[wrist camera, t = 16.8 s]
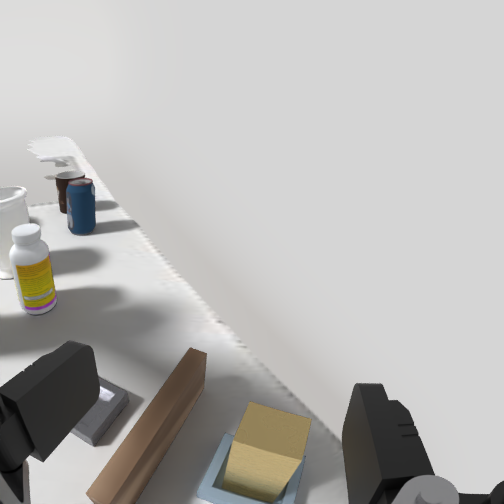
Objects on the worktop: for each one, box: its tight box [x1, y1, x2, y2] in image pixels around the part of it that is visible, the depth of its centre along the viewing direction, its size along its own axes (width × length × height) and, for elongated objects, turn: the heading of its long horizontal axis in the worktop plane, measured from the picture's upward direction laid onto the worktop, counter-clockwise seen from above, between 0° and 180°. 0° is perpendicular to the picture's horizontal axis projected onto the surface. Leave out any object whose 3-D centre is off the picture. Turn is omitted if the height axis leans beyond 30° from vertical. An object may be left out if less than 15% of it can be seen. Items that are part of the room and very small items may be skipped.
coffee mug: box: [55, 171, 85, 214], centre depth 78 cm, size 12×9×10 cm
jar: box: [0, 186, 30, 279], centre depth 46 cm, size 11×10×15 cm
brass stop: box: [221, 401, 312, 503], centre depth 23 cm, size 5×4×10 cm
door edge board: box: [86, 348, 207, 504], centre depth 26 cm, size 2×20×6 cm, turn 163°
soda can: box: [66, 178, 96, 235], centre depth 66 cm, size 7×7×12 cm
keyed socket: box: [197, 433, 306, 504], centre depth 25 cm, size 8×8×2 cm
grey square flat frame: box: [70, 377, 129, 447], centre depth 29 cm, size 8×8×2 cm
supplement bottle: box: [9, 223, 57, 315], centre depth 40 cm, size 7×7×13 cm
